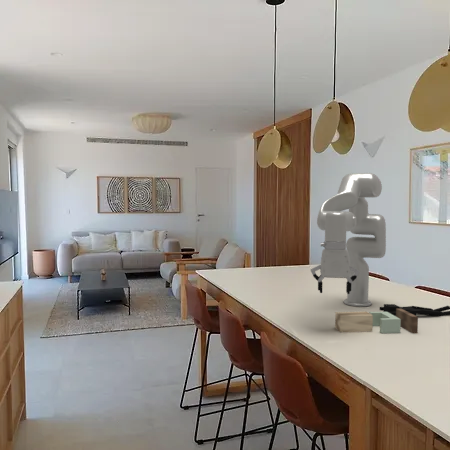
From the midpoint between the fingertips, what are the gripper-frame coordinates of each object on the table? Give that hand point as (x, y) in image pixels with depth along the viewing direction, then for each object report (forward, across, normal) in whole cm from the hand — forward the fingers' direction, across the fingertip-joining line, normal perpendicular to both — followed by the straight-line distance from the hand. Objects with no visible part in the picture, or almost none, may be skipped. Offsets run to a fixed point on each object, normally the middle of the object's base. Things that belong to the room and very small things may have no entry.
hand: (334, 292), depth 155 cm
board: (+15, +14, +6) cm, 21 cm away
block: (+14, +19, +5) cm, 24 cm away
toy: (+15, +38, +30) cm, 51 cm away
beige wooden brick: (+14, +7, +2) cm, 16 cm away
